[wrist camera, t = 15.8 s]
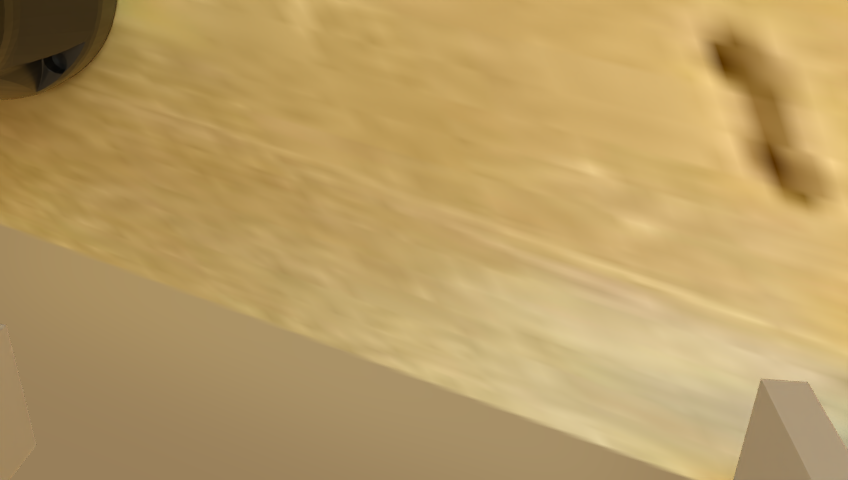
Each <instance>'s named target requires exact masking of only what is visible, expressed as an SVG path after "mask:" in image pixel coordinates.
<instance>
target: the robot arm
mask: <svg viewBox="0 0 848 480" xmlns="http://www.w3.org/2000/svg"><path fill="white" fill-rule="evenodd" d="M115 7H116V0H0V100H8V99H17V98H23V97H27V96H31V95H35V94H38V93H41V92H44V91H46V90H48V89H50V88H52V87H54V86H56V85H58V84H60V83H62V82H63V81H65V80H67V79H69V78H71V77H72V76H74V75H75V74H77V73H78V72H80V71H81V70H82V69H83V68H84V67H86V66H87V65H88V64H89V62H90V61H91V60H92V59H93V58H94V57H95V56H96V54H97V53H98V51H99V50H100V48H101V47H102V45H103V43H104V41H105V40H106V37H107V35H108V33H109V30H110V27H111V24H112V21H113V17H114V12H115ZM35 446H36V440H35V436H34V432H33V429H32V424H31V420H30V416H29V413H28V408H27V404H26V401H25V396H24V392H23V388H22V384H21V381H20V376H19V372H18V368H17V365H16V360H15V357H14V352H13V348H12V344H11V340H10V336H9V332H8V328H7V325H3V324H0V480H10V479H11V478H12V476H13V475H14V474H15V472H16V471H17V469H18V468H19V467H20V466H21V464H22V463H23V462H24V460H25V459H26V458H27V457H28V455H29V454H30V453H31V452H32V450H33V449H34V448H35ZM733 480H848V450H847V448H846V447H845V445H844V443H843V441H842V440H841V438H840V436H839V435H838V433H837V431H836V429H835V428H834V426H833V424H832V423H831V421H830V419H829V417H828V416H827V414H826V412H825V411H824V409H823V407H822V405H821V404H820V402H819V400H818V399H817V397H816V395H815V393H814V392H813V390H812V388H811V387H810V385H809V383H808V382H799V381H785V380H771V379H761V381H760V385H759V388H758V392H757V395H756V399H755V403H754V406H753V410H752V414H751V417H750V421H749V425H748V428H747V432H746V435H745V439H744V443H743V446H742V450H741V454H740V457H739V461H738V465H737V468H736V472H735V476H734V479H733Z"/></svg>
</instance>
